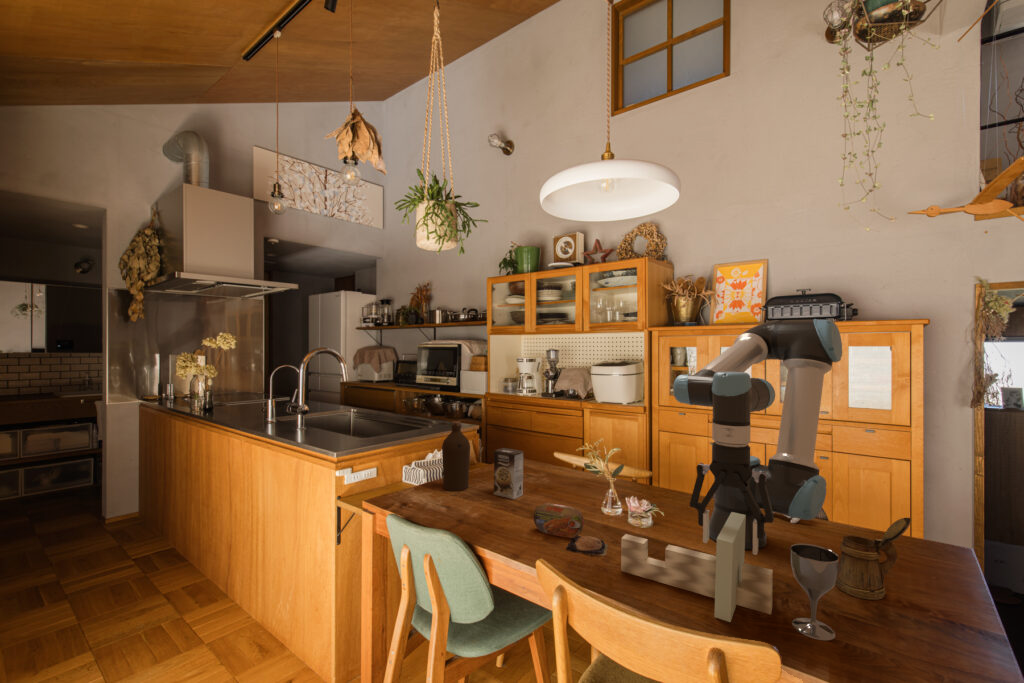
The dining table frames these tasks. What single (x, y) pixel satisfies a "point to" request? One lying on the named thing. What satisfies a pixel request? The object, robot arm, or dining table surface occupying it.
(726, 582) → the sage board
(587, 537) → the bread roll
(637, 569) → the notched fence
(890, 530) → the wooden mug
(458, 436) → the olive oil
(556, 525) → the tin
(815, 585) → the wine glass
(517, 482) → the coffee box
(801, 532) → the dining table surface
